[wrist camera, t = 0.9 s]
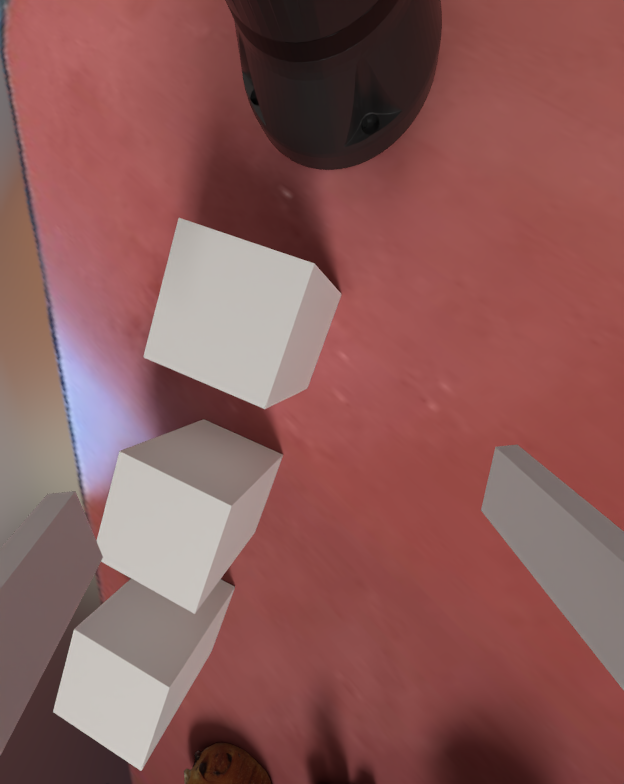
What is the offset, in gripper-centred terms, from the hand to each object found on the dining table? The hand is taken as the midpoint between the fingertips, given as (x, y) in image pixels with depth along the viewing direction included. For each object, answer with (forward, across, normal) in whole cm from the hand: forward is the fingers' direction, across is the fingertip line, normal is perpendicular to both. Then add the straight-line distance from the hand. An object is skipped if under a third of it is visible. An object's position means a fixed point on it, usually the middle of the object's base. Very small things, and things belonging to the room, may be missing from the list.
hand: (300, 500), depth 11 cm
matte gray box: (+18, -12, -28) cm, 36 cm away
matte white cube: (+23, 0, 0) cm, 23 cm away
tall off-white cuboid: (+20, -6, -14) cm, 25 cm away
